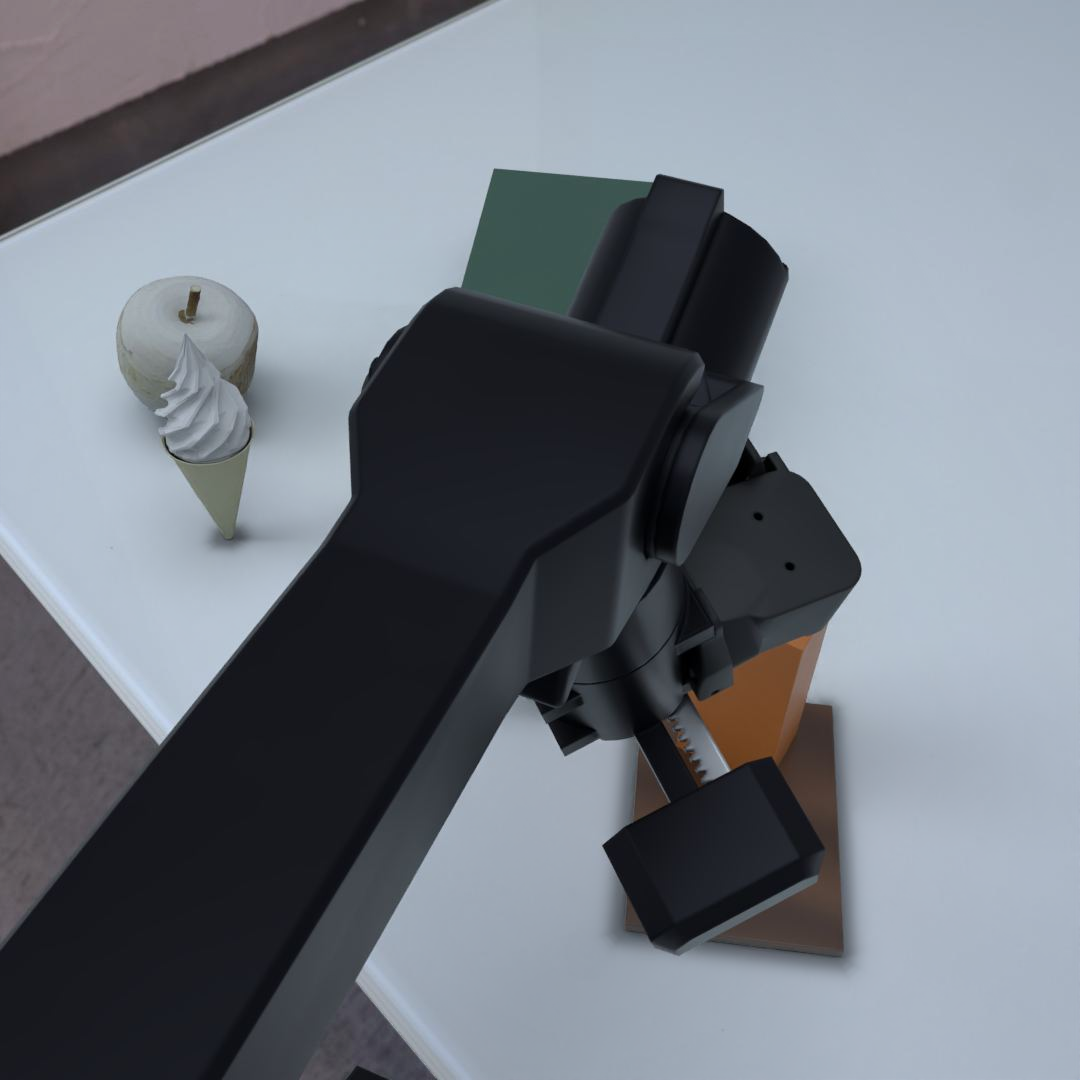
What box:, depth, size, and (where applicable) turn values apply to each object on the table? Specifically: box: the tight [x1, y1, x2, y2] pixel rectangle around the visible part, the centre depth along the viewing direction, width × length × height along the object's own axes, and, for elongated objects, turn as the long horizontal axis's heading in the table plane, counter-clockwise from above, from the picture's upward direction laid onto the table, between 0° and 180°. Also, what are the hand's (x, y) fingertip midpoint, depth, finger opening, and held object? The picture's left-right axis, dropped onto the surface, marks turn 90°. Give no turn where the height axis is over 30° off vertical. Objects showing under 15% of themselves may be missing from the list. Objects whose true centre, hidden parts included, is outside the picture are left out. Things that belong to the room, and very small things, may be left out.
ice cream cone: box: [154, 333, 256, 540], centre depth 72 cm, size 5×5×15 cm
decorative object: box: [115, 275, 259, 419], centre depth 82 cm, size 9×9×10 cm
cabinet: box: [460, 167, 653, 316], centre depth 89 cm, size 20×14×7 cm
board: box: [623, 702, 845, 958], centre depth 65 cm, size 14×10×1 cm
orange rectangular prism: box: [676, 622, 829, 770], centre depth 64 cm, size 4×5×11 cm
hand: (633, 728), depth 53 cm, fingers open, 9 cm apart
